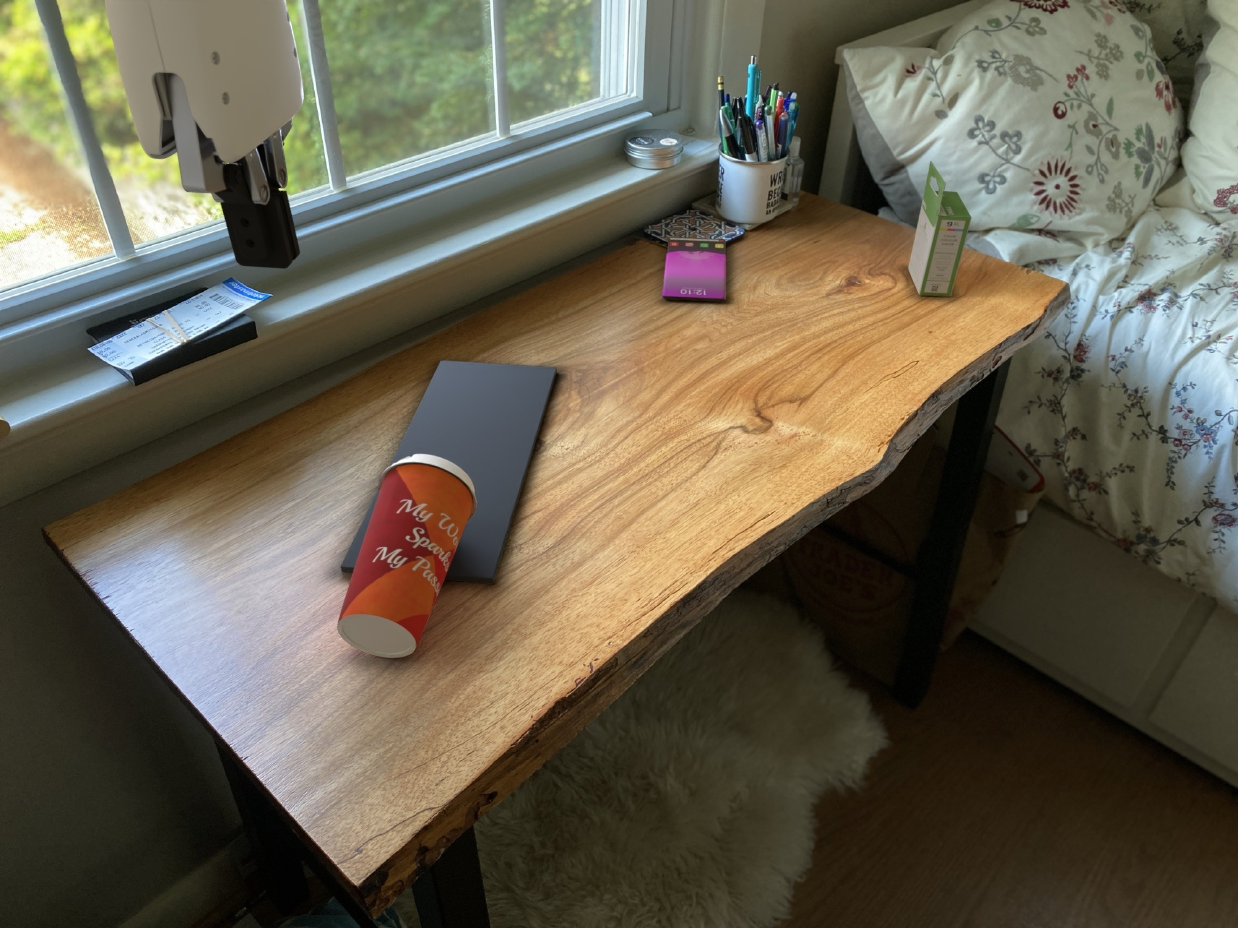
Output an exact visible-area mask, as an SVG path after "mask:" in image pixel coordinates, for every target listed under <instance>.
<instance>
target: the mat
mask: <svg viewBox="0 0 1238 928" xmlns="http://www.w3.org/2000/svg"><path fill="white" fill-rule="evenodd" d="M557 373H558V368H557V366H542V365H527V364H509V363H508V364H507V363H492V362H473V361H459V360H440V362H439V363H438V366H437V367H436V370H435V372H434V374H433V376H432V378H431V379H430V382H429V384H428V386H427V388H426V390H425V392H424V395H423V397H422V399H421V401H420V403H419V405H418V407H417V409H416V411H415V413H414V415H413V417H412V419H411V421H410V422H409V425H408V427H407V429H406V431H405V433H404V436H403V437H402V440H401V442H400V444H399V446H398V448H397V450H396V452H395V454H394V455H393V457H392V460H391V462H390V464H389V466H388V467H390V466H392V464H393V463H397V462H398V461H399V460H401V459H403V458H406V457H408V456H410V457H412V456H413V455H415V454H428V455H433V456H437V457H441V458H443V459H446V460H448V461H450V462H452V463H454V464H455V465H457V466H458V467H460V468H461V469H462V470H463V471H464V472H465V473H466V474H467V475H468V476H469V478H470V479H471V481H472V483H473V485H474V489H475V497H476V501H477V507H476V511H475V513H474V515H473V516H472V517H471V518H470V519H469V521H468V522H467V523H466V526H465V528H464V531H463V533H462V536H461V538H460V541H459V543H458V546H457V548H456V551H455V554H454V556H453V559H452V561H451V564H450V566H449V569H448V571H447V574H446V576H445V579H444V581H453V582H463V583H464V582H465V583H478V584H489V585H491V584H492V585H494V583H495V580H496V576H497V572H498V569H499V566H500V563H501V559H502V555H503V552H504V549H505V546H506V543H507V539H508V536H509V533H510V529H511V526H512V524H513V523H512V522H513V519H514V517H515V513H516V509H517V507H518V503H519V499H520V496H521V494H522V493H521V492H522V489H523V486H524V482H525V479H526V476H527V472H528V470H529V466H530V463H531V459H532V455H533V453H534V450H535V447H536V442H537V440H538V436H539V434H540V433H539V432H540V429H541V426H542V423H543V419H544V416H545V412H546V409H547V406H548V404H549V403H548V402H549V399H550V396H551V393H552V389H553V386H554V382H555V380H556V376H557ZM379 492H380V490H379V488H378V489H377V490H376V493H375V495H374V496H373V499H372V501H371V503H370V505H369V507H368V510H367V512H366V513H365V515H364V518H363V519H362V521H361V524H360V526H359V528H358V530H357V532H356V534H355V536H354V538H353V540H352V542H351V544H350V547H349V548H348V551H347V553H346V555H345V556H344V559H343V561H342V563H341V564H340V570H341V572H342V573H351V574H353V571H354V568H355V565H356V562H357V559H358V556H359V553H360V550H361V547H362V544H363V541H364V538H365V535H366V532H367V529H368V525H369V522H370V519H371V516H372V513H373V510H374V507H375V504H376V501H377V498H378V495H379Z"/></svg>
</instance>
